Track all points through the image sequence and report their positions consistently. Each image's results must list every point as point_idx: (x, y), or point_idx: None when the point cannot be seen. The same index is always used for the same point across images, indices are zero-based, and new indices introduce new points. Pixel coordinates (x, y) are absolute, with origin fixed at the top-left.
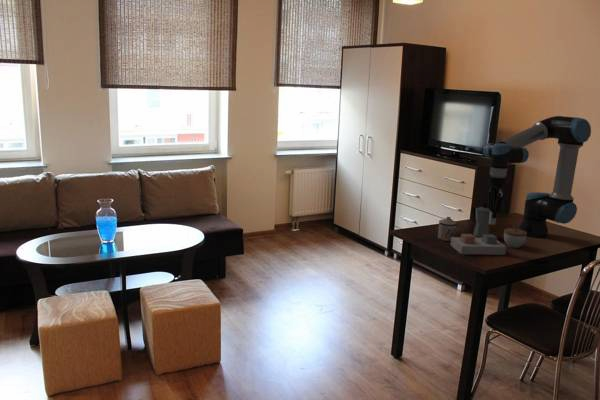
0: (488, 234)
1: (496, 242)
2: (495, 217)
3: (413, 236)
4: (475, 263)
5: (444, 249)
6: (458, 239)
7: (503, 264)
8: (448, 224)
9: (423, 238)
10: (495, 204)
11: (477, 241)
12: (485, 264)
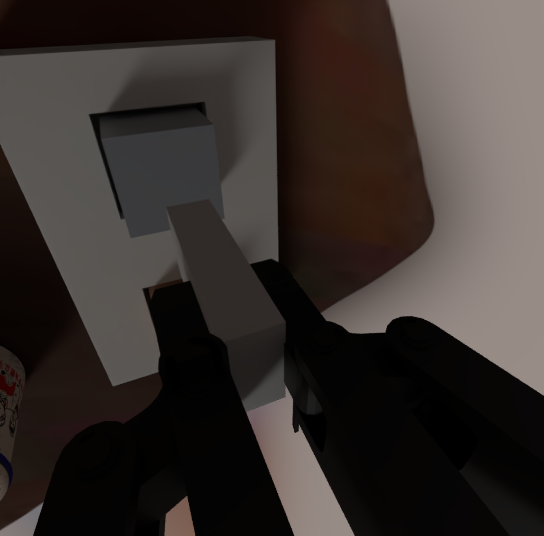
0: (121, 187)
1: (201, 113)
2: (284, 274)
3: (10, 491)
4: (374, 260)
5: None
6: (153, 352)
7: (405, 134)
8: (8, 478)
9: (28, 457)
10: (508, 520)
11: (169, 250)
12: (390, 223)
